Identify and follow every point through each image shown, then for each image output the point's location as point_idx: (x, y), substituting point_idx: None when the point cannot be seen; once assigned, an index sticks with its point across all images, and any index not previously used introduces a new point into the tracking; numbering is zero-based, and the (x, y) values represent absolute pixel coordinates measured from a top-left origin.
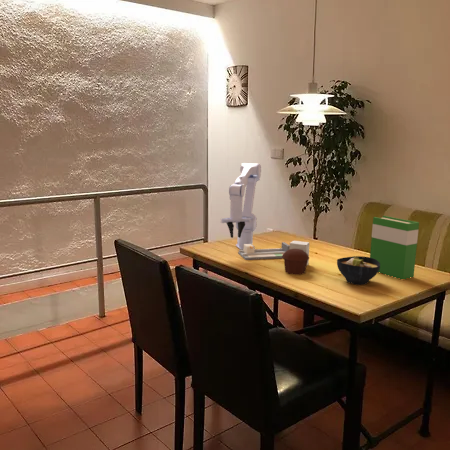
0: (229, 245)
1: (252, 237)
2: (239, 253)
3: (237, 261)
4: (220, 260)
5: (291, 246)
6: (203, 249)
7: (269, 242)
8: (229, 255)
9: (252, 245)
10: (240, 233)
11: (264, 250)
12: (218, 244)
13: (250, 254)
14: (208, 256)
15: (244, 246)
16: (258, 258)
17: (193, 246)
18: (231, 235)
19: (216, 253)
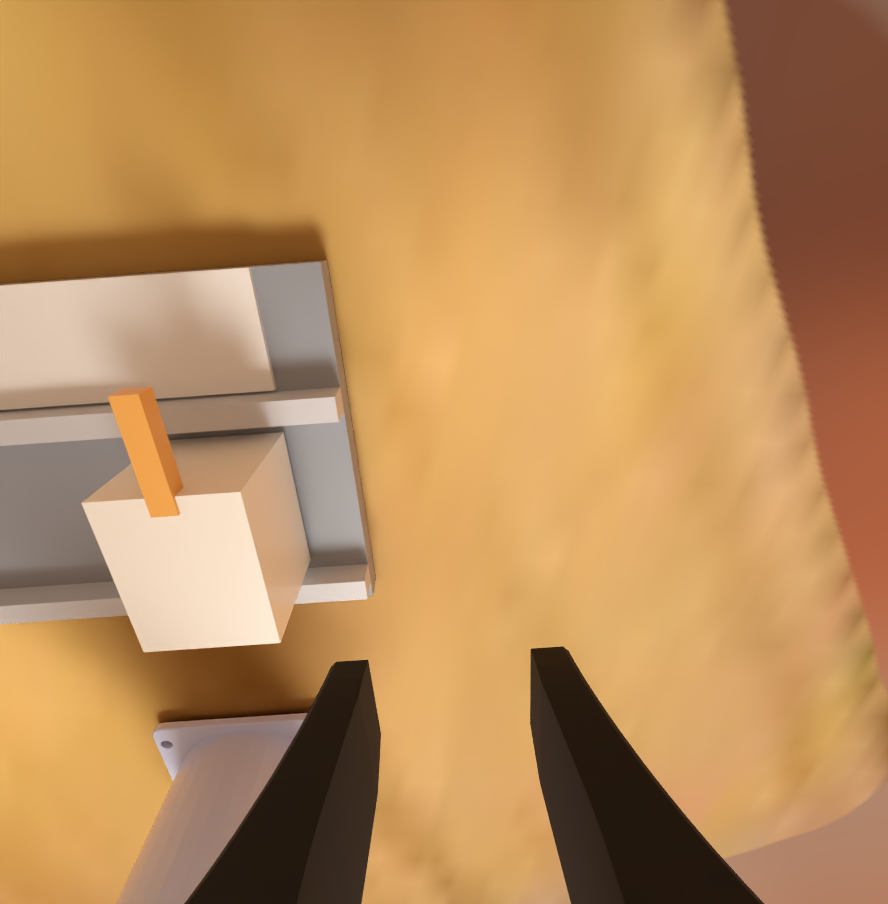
0: (414, 834)
1: (120, 894)
2: (367, 546)
3: (468, 178)
4: (711, 270)
5: None
6: (717, 737)
7: (7, 895)
8: (506, 509)
9: (123, 555)
10: (311, 753)
11: (8, 595)
12: (512, 860)
13: (218, 401)
14: (786, 487)
15: (278, 583)
16: (105, 276)
17: (768, 820)
18: (591, 701)
19: (637, 599)
